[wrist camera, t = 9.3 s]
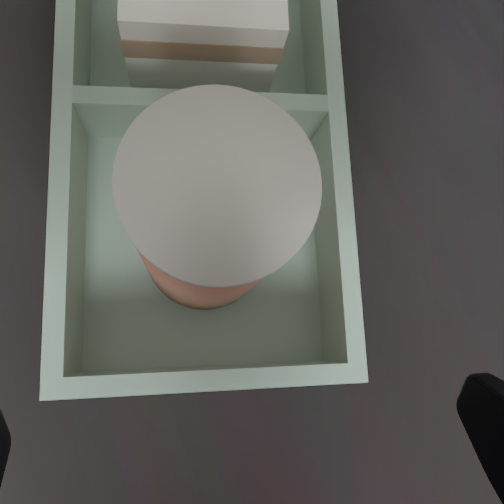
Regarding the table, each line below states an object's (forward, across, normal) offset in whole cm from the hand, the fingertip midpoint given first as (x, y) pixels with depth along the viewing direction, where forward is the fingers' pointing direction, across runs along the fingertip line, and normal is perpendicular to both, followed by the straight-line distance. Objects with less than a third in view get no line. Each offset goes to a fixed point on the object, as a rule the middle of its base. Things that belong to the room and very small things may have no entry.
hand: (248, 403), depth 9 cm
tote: (+18, 0, -1) cm, 18 cm away
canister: (+13, 0, -5) cm, 14 cm away
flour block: (+21, 0, +4) cm, 22 cm away
